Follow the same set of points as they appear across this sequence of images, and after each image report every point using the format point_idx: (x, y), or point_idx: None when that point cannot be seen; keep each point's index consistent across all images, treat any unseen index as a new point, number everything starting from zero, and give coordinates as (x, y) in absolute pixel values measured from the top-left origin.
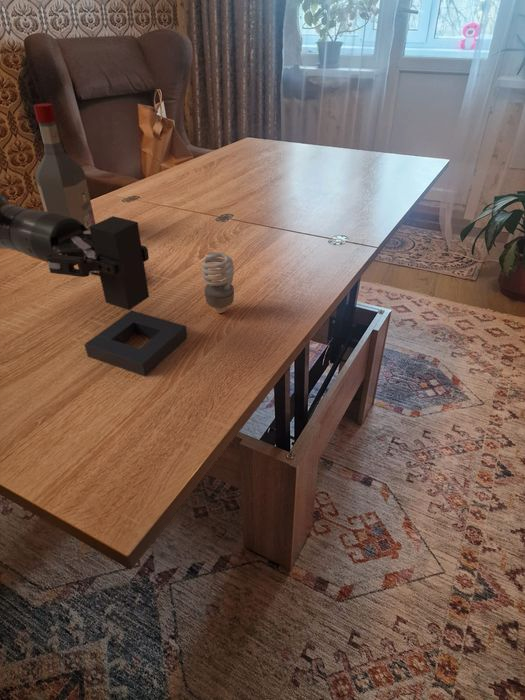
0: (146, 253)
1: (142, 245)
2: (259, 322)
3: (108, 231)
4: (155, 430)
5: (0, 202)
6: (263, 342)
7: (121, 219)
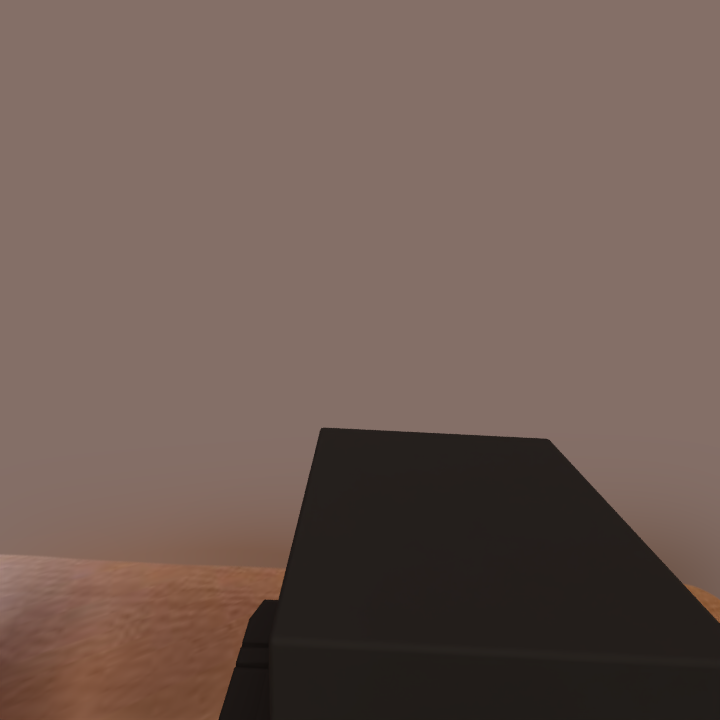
0: None
1: (244, 637)
2: (70, 674)
3: (575, 468)
4: None
5: None
6: (182, 623)
7: (328, 510)
